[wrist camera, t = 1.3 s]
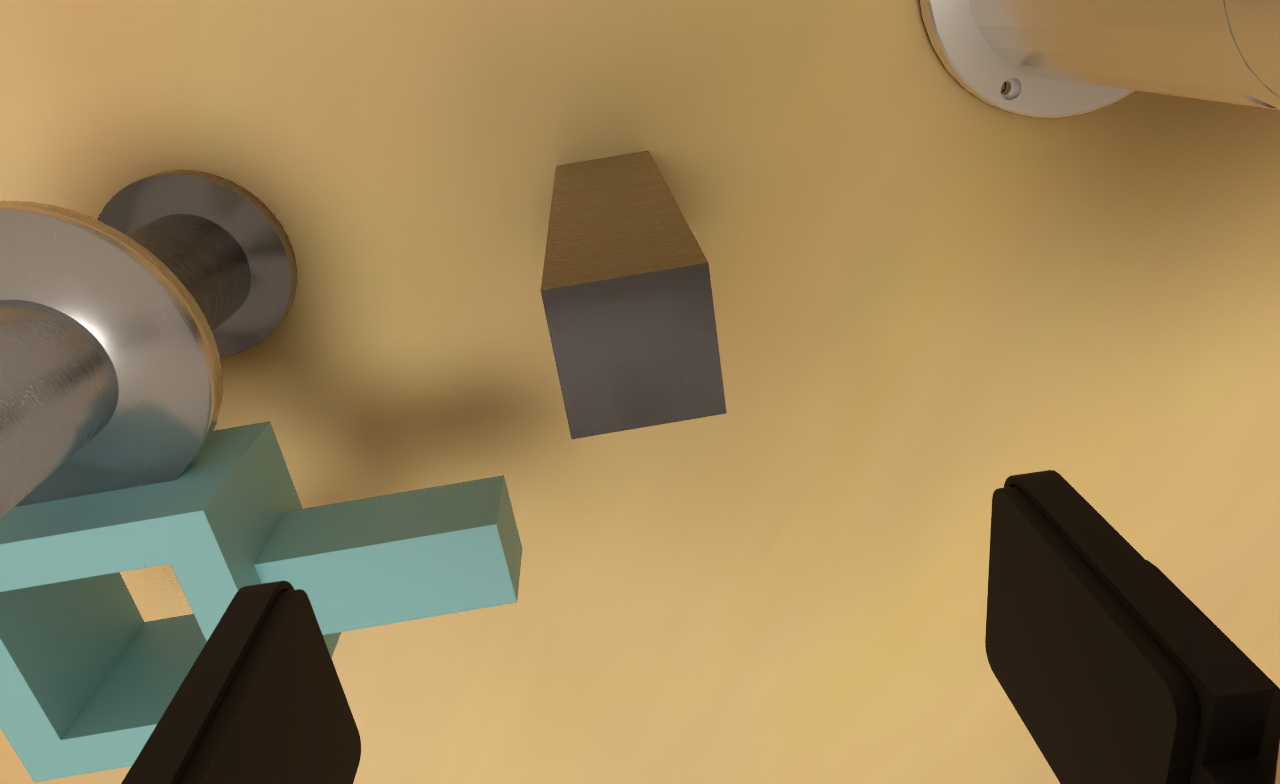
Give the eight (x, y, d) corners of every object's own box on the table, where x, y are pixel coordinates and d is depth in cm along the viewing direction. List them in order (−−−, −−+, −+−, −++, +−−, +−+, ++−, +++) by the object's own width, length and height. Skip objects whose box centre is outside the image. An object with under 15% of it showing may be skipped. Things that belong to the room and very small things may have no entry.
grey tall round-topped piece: (277, 127, 35) (14, 226, 18) (348, 349, 39) (184, 593, 23) (37, 167, 35) (-439, 302, 18) (134, 385, 39) (-186, 655, 23)
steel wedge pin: (648, 151, 36) (707, 262, 20) (660, 241, 38) (726, 413, 22) (556, 166, 36) (540, 290, 20) (573, 256, 38) (571, 439, 22)
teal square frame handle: (488, 384, 30) (470, 465, 25) (539, 589, 34) (532, 698, 29) (17, 463, 30) (-104, 562, 25) (120, 660, 34) (34, 782, 29)
